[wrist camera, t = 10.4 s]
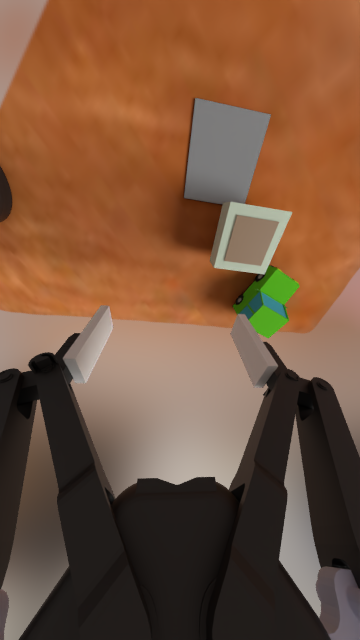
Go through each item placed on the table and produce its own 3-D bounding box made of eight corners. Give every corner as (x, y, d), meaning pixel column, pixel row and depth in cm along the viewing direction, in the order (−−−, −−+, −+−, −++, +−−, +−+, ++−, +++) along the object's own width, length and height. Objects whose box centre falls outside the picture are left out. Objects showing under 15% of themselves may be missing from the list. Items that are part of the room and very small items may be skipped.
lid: (209, 260, 34) (214, 268, 29) (223, 202, 28) (231, 201, 24) (254, 266, 35) (265, 274, 30) (276, 211, 29) (293, 212, 25)
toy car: (292, 279, 41) (321, 297, 32) (255, 317, 47) (271, 339, 39) (264, 259, 38) (288, 273, 30) (228, 302, 44) (239, 323, 36)
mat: (183, 197, 31) (183, 197, 31) (195, 99, 24) (195, 97, 24) (242, 207, 32) (243, 207, 32) (270, 115, 25) (270, 114, 25)
